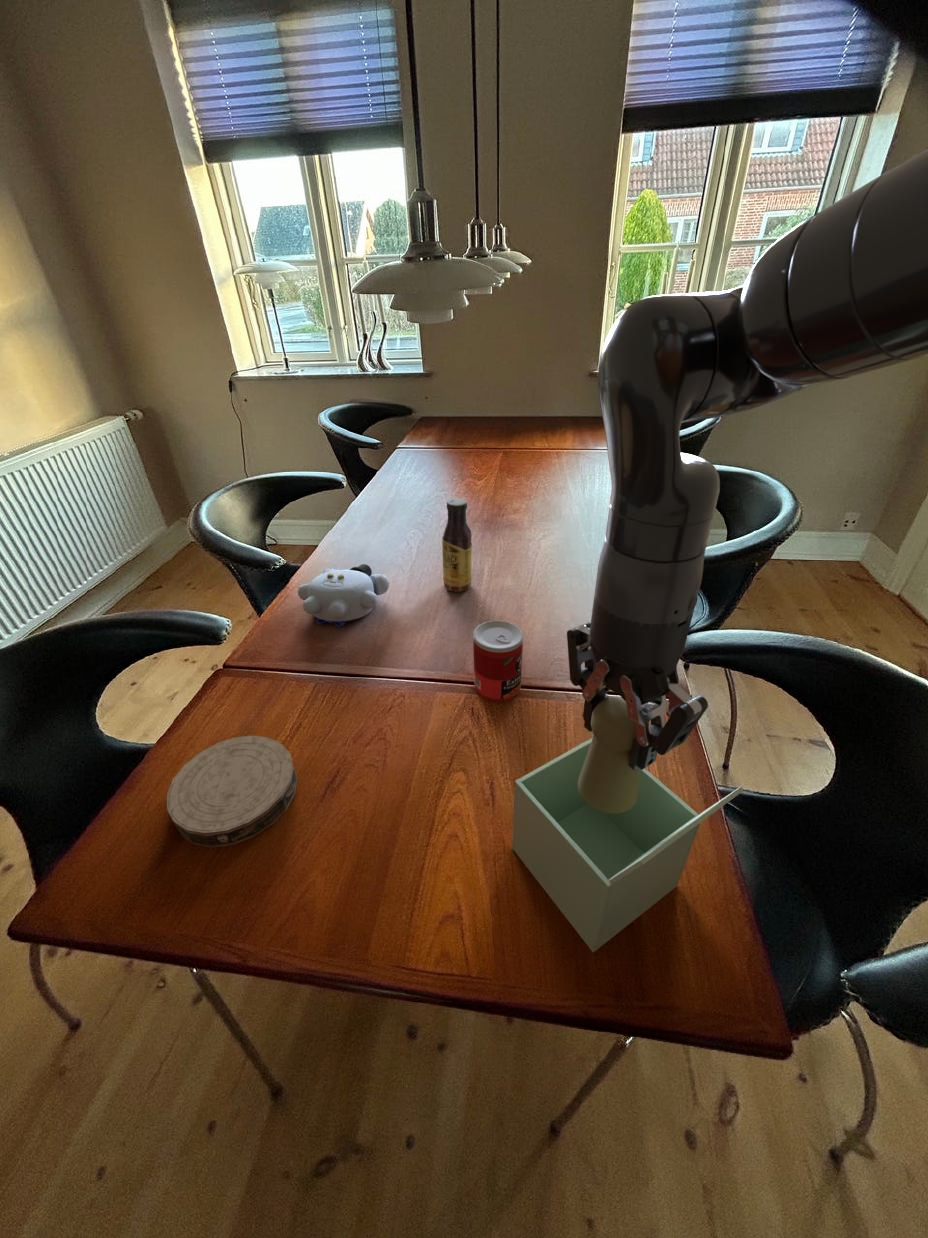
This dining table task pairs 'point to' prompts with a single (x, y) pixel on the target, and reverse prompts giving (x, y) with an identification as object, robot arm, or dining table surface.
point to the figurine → (342, 594)
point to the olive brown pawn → (610, 760)
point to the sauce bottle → (457, 548)
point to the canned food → (497, 660)
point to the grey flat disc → (232, 791)
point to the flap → (675, 836)
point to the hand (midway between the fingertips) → (616, 744)
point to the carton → (598, 846)
